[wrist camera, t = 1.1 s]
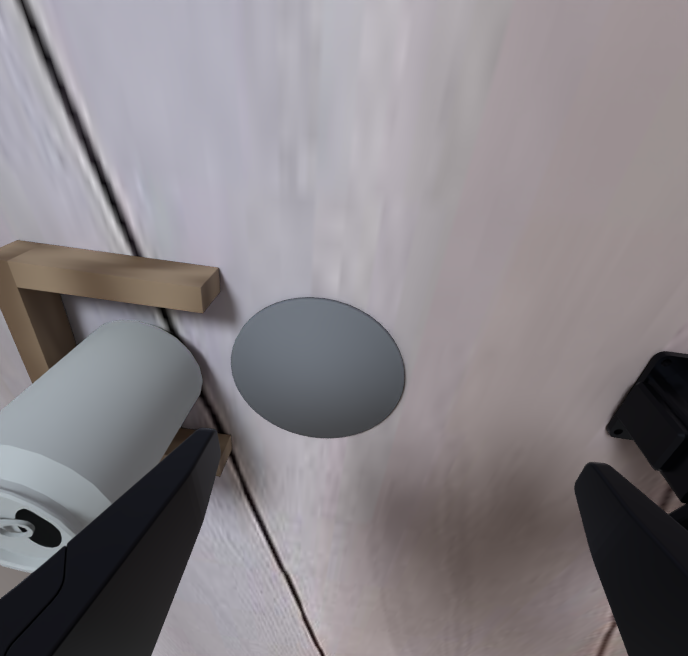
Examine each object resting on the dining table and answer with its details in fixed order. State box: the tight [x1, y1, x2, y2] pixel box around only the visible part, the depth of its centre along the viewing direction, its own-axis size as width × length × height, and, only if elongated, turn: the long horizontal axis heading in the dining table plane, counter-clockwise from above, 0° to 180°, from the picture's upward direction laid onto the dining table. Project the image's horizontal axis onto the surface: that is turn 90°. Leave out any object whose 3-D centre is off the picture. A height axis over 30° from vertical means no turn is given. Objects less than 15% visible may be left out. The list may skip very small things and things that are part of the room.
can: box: [0, 320, 203, 573], centre depth 21 cm, size 8×8×12 cm
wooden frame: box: [0, 240, 232, 477], centre depth 25 cm, size 12×15×2 cm
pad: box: [231, 297, 404, 438], centre depth 25 cm, size 11×11×1 cm
